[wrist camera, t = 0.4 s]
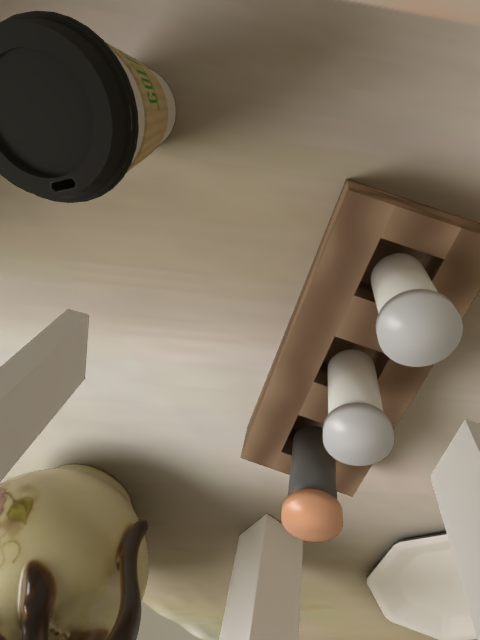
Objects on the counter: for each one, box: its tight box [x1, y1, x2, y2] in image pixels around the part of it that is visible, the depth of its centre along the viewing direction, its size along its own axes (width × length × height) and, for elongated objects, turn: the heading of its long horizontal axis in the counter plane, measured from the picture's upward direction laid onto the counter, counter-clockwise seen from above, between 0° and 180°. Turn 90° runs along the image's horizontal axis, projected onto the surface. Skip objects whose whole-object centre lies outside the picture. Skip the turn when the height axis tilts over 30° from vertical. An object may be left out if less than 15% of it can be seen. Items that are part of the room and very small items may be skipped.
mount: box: [241, 179, 480, 496], centre depth 41 cm, size 12×28×5 cm, turn 164°
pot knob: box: [281, 426, 343, 542], centre depth 39 cm, size 5×5×9 cm
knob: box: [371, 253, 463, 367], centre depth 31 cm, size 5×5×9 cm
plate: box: [367, 532, 477, 640], centre depth 55 cm, size 20×20×2 cm
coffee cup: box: [0, 11, 176, 203], centre depth 30 cm, size 10×10×15 cm
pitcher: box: [0, 464, 149, 640], centre depth 49 cm, size 22×24×25 cm
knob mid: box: [323, 349, 394, 466], centre depth 35 cm, size 5×5×9 cm
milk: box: [219, 514, 303, 640], centre depth 48 cm, size 6×6×22 cm
